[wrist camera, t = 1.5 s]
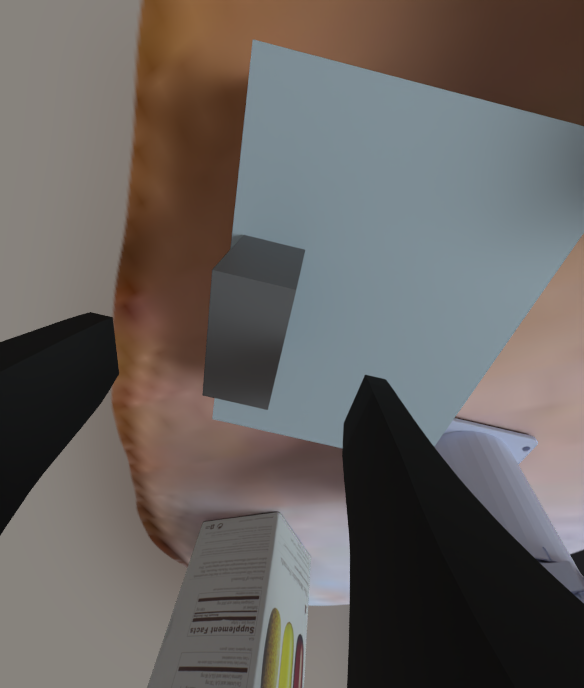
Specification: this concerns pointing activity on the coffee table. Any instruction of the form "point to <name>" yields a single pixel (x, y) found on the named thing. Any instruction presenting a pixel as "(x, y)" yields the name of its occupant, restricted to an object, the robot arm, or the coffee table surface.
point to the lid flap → (380, 243)
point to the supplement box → (239, 609)
